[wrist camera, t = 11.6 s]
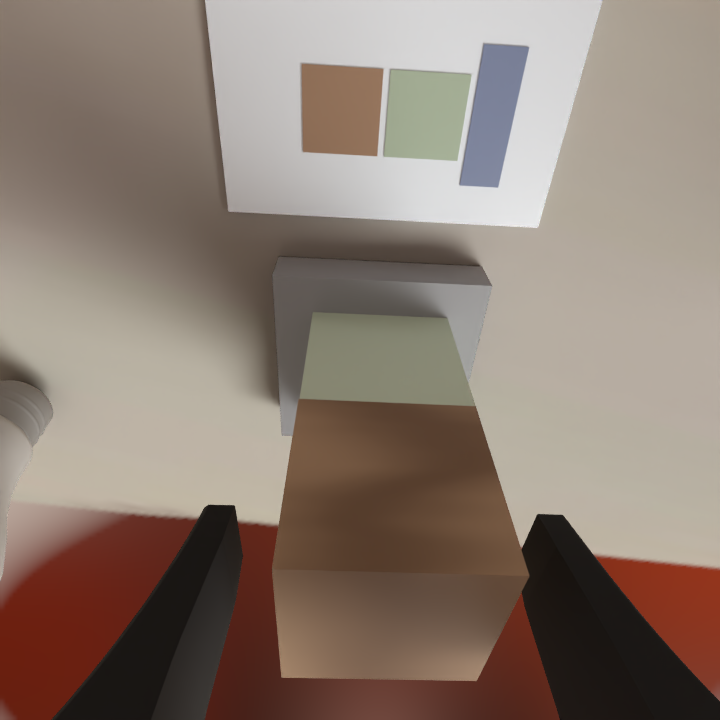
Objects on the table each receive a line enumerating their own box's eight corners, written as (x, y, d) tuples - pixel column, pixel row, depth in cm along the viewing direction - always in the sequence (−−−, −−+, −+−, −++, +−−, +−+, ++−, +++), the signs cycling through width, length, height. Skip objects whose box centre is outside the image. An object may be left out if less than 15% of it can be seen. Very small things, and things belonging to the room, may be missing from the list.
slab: (481, 266, 16) (492, 285, 15) (448, 416, 20) (454, 441, 19) (278, 256, 16) (272, 275, 15) (286, 410, 20) (281, 435, 19)
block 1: (447, 318, 15) (475, 407, 12) (428, 417, 18) (446, 516, 14) (312, 311, 15) (299, 401, 12) (313, 413, 18) (302, 512, 14)
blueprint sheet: (602, -7, 12) (605, -7, 12) (536, 226, 15) (538, 228, 15) (202, -35, 11) (200, -36, 11) (229, 210, 15) (228, 212, 15)
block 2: (475, 406, 12) (529, 576, 8) (445, 515, 14) (476, 681, 11) (298, 398, 12) (272, 568, 8) (300, 510, 14) (281, 677, 11)
